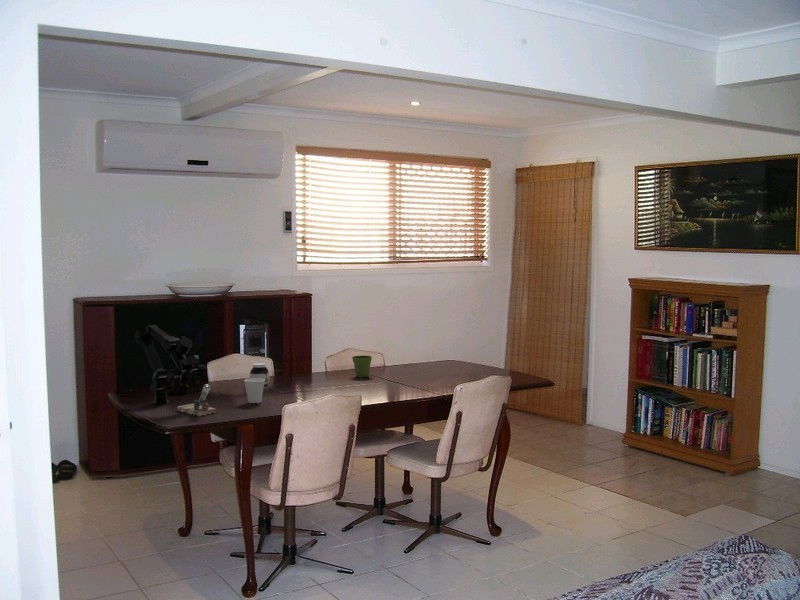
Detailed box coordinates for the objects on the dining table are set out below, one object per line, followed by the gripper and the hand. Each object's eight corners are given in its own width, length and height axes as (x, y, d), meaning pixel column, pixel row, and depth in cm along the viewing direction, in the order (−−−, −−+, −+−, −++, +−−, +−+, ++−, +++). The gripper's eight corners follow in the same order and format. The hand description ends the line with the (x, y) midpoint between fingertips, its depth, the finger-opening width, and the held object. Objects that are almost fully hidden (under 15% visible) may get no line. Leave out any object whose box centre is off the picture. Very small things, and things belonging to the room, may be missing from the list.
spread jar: (258, 387, 425) (258, 365, 424) (242, 385, 431) (242, 364, 430) (273, 384, 435) (273, 362, 434) (257, 382, 441) (257, 361, 440)
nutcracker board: (177, 410, 369) (177, 397, 369) (194, 407, 376) (193, 395, 376) (199, 416, 358) (199, 403, 357) (216, 413, 364) (216, 400, 364)
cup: (245, 400, 392) (245, 378, 391) (266, 400, 392) (265, 377, 391) (243, 404, 382) (242, 382, 381) (264, 404, 383) (263, 381, 382)
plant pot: (350, 375, 461) (350, 355, 460) (371, 374, 463) (370, 355, 462) (353, 378, 450) (352, 358, 449) (374, 378, 452) (373, 358, 451)
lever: (195, 403, 365) (202, 384, 360) (201, 402, 367) (208, 383, 362) (198, 407, 363) (206, 389, 358) (204, 406, 365) (211, 388, 360)
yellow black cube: (200, 390, 418) (200, 371, 418) (188, 393, 409) (187, 374, 408) (185, 388, 423) (184, 370, 422) (172, 392, 414) (171, 373, 413)
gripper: (169, 352, 362) (183, 379, 356) (204, 347, 376) (219, 374, 369) (160, 367, 368) (174, 394, 362) (195, 362, 382) (209, 388, 375)
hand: (194, 387), depth 367 cm, fingers closed
